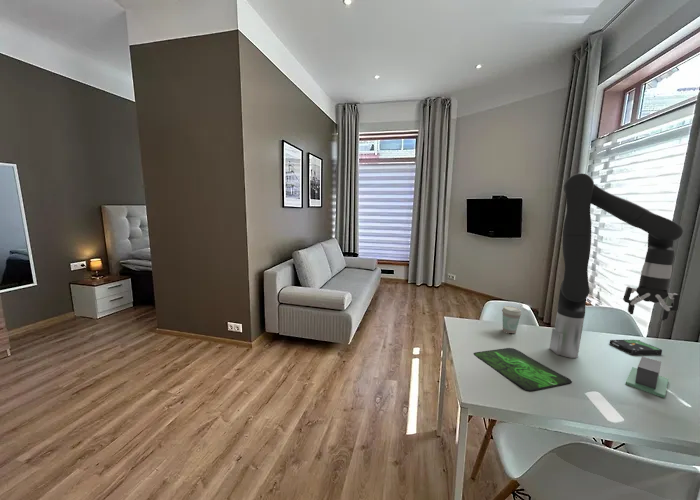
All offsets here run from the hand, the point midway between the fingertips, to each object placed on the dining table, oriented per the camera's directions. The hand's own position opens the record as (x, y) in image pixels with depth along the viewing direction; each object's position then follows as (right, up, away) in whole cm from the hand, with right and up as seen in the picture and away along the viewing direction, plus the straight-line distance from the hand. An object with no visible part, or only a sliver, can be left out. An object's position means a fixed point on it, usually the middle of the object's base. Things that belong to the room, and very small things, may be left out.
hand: (646, 316), depth 110 cm
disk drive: (+16, -20, +22) cm, 34 cm away
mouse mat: (-47, -21, +3) cm, 52 cm away
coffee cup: (-33, -16, +35) cm, 51 cm away
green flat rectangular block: (-5, -23, -5) cm, 24 cm away
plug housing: (-5, -22, -5) cm, 23 cm away
